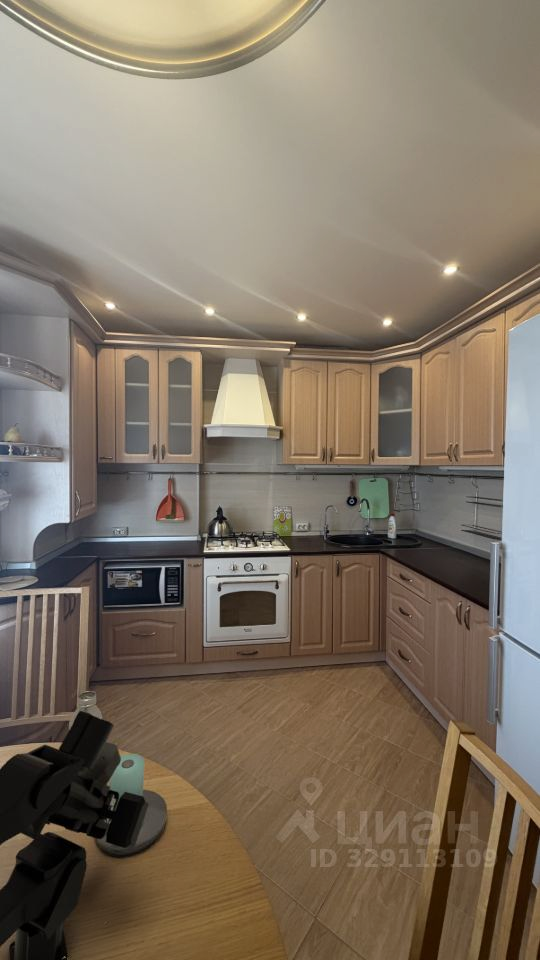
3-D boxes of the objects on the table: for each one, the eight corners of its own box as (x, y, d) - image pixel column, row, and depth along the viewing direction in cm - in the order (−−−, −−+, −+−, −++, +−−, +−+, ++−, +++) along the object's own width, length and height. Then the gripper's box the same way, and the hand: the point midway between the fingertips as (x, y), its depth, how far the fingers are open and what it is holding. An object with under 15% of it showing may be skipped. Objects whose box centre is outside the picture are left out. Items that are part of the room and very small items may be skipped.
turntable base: (174, 835, 75) (175, 828, 75) (105, 869, 68) (106, 862, 68) (151, 793, 85) (152, 787, 85) (89, 819, 78) (89, 813, 78)
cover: (149, 828, 73) (152, 767, 74) (109, 847, 69) (113, 782, 70) (137, 803, 79) (140, 746, 79) (100, 819, 75) (103, 759, 75)
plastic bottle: (56, 797, 83) (62, 700, 83) (81, 775, 89) (86, 685, 90) (81, 806, 81) (87, 706, 81) (104, 783, 87) (110, 690, 88)
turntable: (177, 828, 75) (177, 821, 75) (104, 864, 67) (105, 856, 67) (153, 785, 85) (153, 779, 85) (87, 812, 78) (88, 805, 78)
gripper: (145, 749, 62) (175, 773, 73) (47, 726, 67) (88, 752, 77) (110, 843, 54) (150, 855, 65) (1, 810, 59) (54, 826, 69)
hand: (109, 817), depth 69 cm, fingers closed
